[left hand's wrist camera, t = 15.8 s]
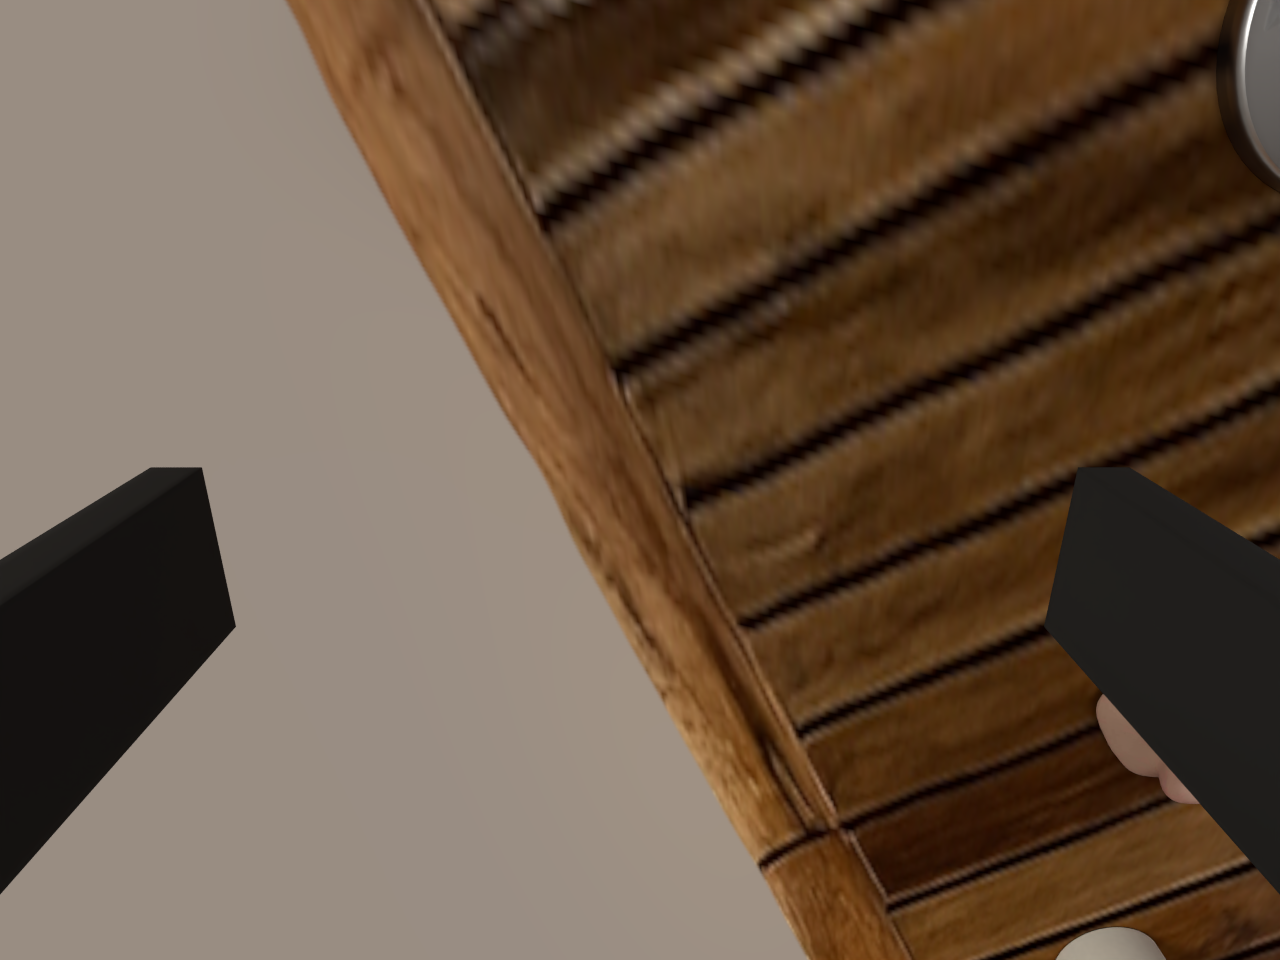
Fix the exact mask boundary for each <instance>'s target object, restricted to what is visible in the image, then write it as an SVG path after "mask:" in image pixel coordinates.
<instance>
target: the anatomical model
mask: <svg viewBox="0 0 1280 960" xmlns="http://www.w3.org/2000/svg"><path fill="white" fill-rule="evenodd" d="M1096 714H1097V719H1098V722H1099V725H1100V728H1101V730H1102V732H1103V734H1104V736H1105V738H1106V740H1107V742H1108V744H1109V746H1110V748H1111V750H1112V751H1113V752H1114V754H1115V755H1116V756H1117V757H1118V759H1119V760H1120V761H1121V763H1122V764H1123V765H1124V766H1125V767H1126V768H1127V769H1129V770H1130V771H1132V772H1134V773H1136V774H1139V775H1143V776H1150V777H1159V779H1160V784H1161V787H1162V789H1163V791H1164V792H1165V794H1166V795H1167V796H1168V797H1169V798H1171V799H1172V800H1174V801H1176V802H1180V803H1188V804H1200V803H1199V802H1198V801H1197V800H1196V799H1195V797H1194V796H1193V795H1192V794H1191V793H1190V792H1189V791H1188V789H1187V788H1186V787H1185V786H1184V785H1183V784H1182V783H1181V782H1180V780H1179V779H1178V778H1177V777H1176V776H1175V775H1174V774H1173V772H1172V771H1171V770H1170V769H1169V768H1168V767H1167V766H1166V764H1165V763H1164V762H1163V761H1162V760H1161V759H1160V758H1159V757H1158V755H1157V754H1156V753H1155V752H1154V751H1153V750H1152V749H1151V747H1150V746H1149V745H1148V744H1147V743H1146V742H1145V741H1144V739H1143V738H1142V737H1141V736H1140V735H1139V734H1138V733H1137V732H1136V730H1135V729H1134V728H1133V727H1132V726H1131V725H1130V724H1129V722H1128V721H1127V720H1126V719H1125V718H1124V717H1123V716H1122V714H1121V713H1120V712H1119V711H1118V710H1117V709H1116V708H1115V707H1114V705H1113V704H1112V703H1111V702H1110V701H1109V700H1108V699H1107V697H1106V696H1105V695H1104V694H1102V696H1101V697H1100V699H1099V701H1098V703H1097V707H1096Z"/></svg>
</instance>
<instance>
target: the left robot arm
mask: <svg viewBox="0 0 1280 960" xmlns="http://www.w3.org/2000/svg"><path fill="white" fill-rule="evenodd" d="M1216 81H1217V95H1218V102H1219V108H1220V112H1221V116H1222V121H1223V124H1224V126H1225V129H1226V132H1227V135H1228V137H1229V139H1230V141H1231V143H1232V145H1233V147H1234V149H1235V151H1236V152H1237V154H1238V155H1239V157H1240V158H1241V160H1242V161H1243V162H1244V163H1245V165H1246V166H1247V167H1248V168H1249V169H1250V170H1251V171H1252V172H1253V173H1254V174H1255V175H1256V176H1257V177H1258V178H1259V179H1260V180H1262V181H1263V182H1264V183H1266V184H1267V185H1269V186H1270V187H1272V188H1273V189H1275V190H1277V191H1279V192H1280V0H1230V1H1229V5H1228V8H1227V11H1226V14H1225V17H1224V21H1223V25H1222V30H1221V34H1220V40H1219V46H1218V53H1217V68H1216ZM235 627H236V625H235V620H234V616H233V611H232V606H231V602H230V597H229V592H228V588H227V583H226V579H225V574H224V569H223V564H222V560H221V555H220V550H219V546H218V541H217V536H216V531H215V527H214V522H213V517H212V513H211V508H210V503H209V499H208V494H207V489H206V485H205V480H204V475H203V471H202V468H149V469H148V470H146V471H144V472H143V473H141V474H139V475H138V476H136V477H134V478H133V479H131V480H130V481H128V482H126V483H125V484H123V485H121V486H120V487H118V488H116V489H115V490H113V491H112V492H110V493H108V494H107V495H105V496H103V497H102V498H100V499H99V500H97V501H95V502H94V503H92V504H90V505H89V506H87V507H86V508H84V509H82V510H81V511H79V512H77V513H76V514H74V515H72V516H71V517H69V518H68V519H66V520H64V521H63V522H61V523H59V524H58V525H56V526H55V527H53V528H51V529H50V530H48V531H46V532H45V533H43V534H42V535H40V536H38V537H37V538H35V539H33V540H32V541H30V542H28V543H27V544H25V545H24V546H22V547H20V548H19V549H17V550H15V551H14V552H12V553H11V554H9V555H7V556H6V557H4V558H3V559H1V560H0V894H1V893H2V892H3V891H4V889H5V888H6V887H7V886H8V885H9V884H10V883H11V881H12V880H13V879H14V878H15V877H16V876H17V875H18V874H19V872H20V871H21V870H22V869H23V868H24V867H25V866H26V864H27V863H28V862H29V861H30V860H31V859H32V858H33V857H34V855H35V854H36V853H37V852H38V851H39V850H40V849H41V847H42V846H43V845H44V844H45V843H46V842H47V841H48V839H49V838H50V837H51V836H52V835H53V834H54V833H55V832H56V830H57V829H58V828H59V827H60V826H61V825H62V824H63V822H64V821H65V820H66V819H67V818H68V817H69V816H70V814H71V813H72V812H73V811H74V810H75V809H76V808H77V807H78V805H79V804H80V803H81V802H82V801H83V800H84V799H85V797H86V796H87V795H88V794H89V793H90V792H91V791H92V789H93V788H94V787H95V786H96V785H97V784H98V783H99V782H100V780H101V779H102V778H103V777H104V776H105V775H106V774H107V772H108V771H109V770H110V769H111V768H112V767H113V766H114V764H115V763H116V762H117V761H118V760H119V759H120V758H121V757H122V755H123V754H124V753H125V752H126V751H127V750H128V749H129V747H130V746H131V745H132V744H133V743H134V742H135V741H136V739H137V738H138V737H139V736H140V735H141V734H142V733H143V732H144V730H145V729H146V728H147V727H148V726H149V725H150V724H151V722H152V721H153V720H154V719H155V718H156V717H157V716H158V714H159V713H160V712H161V711H162V710H163V709H164V708H165V707H166V705H167V704H168V703H169V702H170V701H171V700H172V699H173V697H174V696H175V695H176V694H177V693H178V692H179V691H180V689H181V688H182V687H183V686H184V685H185V684H186V683H187V681H188V680H189V679H190V678H191V677H192V676H193V675H194V674H195V672H196V671H197V670H198V669H199V668H200V667H201V666H202V664H203V663H204V662H205V661H206V660H207V659H208V658H209V656H210V655H211V654H212V653H213V652H214V651H215V650H216V648H217V647H218V646H219V645H220V644H221V643H222V642H223V641H224V639H225V638H226V637H227V636H228V635H229V634H230V633H231V631H232V630H233V629H234V628H235ZM1044 627H1045V628H1046V629H1047V630H1048V632H1049V633H1050V634H1051V635H1052V636H1053V637H1054V638H1055V639H1056V641H1057V642H1058V643H1059V644H1060V645H1061V646H1062V647H1063V649H1064V650H1065V651H1066V652H1067V653H1068V654H1069V655H1070V657H1071V658H1072V659H1073V660H1074V661H1075V662H1076V663H1077V664H1078V666H1079V667H1080V668H1081V669H1082V670H1083V671H1084V672H1085V674H1086V675H1087V676H1088V677H1089V678H1090V679H1091V680H1092V682H1093V683H1094V684H1095V685H1096V686H1097V687H1098V688H1099V689H1100V691H1101V692H1102V693H1103V694H1104V695H1105V696H1106V697H1107V699H1108V700H1109V701H1110V702H1111V703H1112V704H1113V705H1114V707H1115V708H1116V709H1117V710H1118V711H1119V712H1120V713H1121V714H1122V716H1123V717H1124V718H1125V719H1126V720H1127V721H1128V722H1129V724H1130V725H1131V726H1132V727H1133V728H1134V729H1135V730H1136V732H1137V733H1138V734H1139V735H1140V736H1141V737H1142V738H1143V739H1144V741H1145V742H1146V743H1147V744H1148V745H1149V746H1150V747H1151V749H1152V750H1153V751H1154V752H1155V753H1156V754H1157V755H1158V757H1159V758H1160V759H1161V760H1162V761H1163V762H1164V763H1165V764H1166V766H1167V767H1168V768H1169V769H1170V770H1171V771H1172V772H1173V774H1174V775H1175V776H1176V777H1177V778H1178V779H1179V780H1180V782H1181V783H1182V784H1183V785H1184V786H1185V787H1186V788H1187V789H1188V791H1189V792H1190V793H1191V794H1192V795H1193V796H1194V797H1195V799H1196V800H1197V801H1198V802H1199V803H1200V804H1201V805H1202V807H1203V808H1204V809H1205V810H1206V811H1207V812H1208V813H1209V814H1210V816H1211V817H1212V818H1213V819H1214V820H1215V821H1216V822H1217V824H1218V825H1219V826H1220V827H1221V828H1222V829H1223V830H1224V832H1225V833H1226V834H1227V835H1228V836H1229V837H1230V838H1231V839H1232V841H1233V842H1234V843H1235V844H1236V845H1237V846H1238V847H1239V849H1240V850H1241V851H1242V852H1243V853H1244V854H1245V855H1246V857H1247V858H1248V859H1249V860H1250V861H1251V862H1252V863H1253V864H1254V866H1255V867H1256V868H1257V869H1258V870H1259V871H1260V872H1261V874H1262V875H1263V876H1264V877H1265V878H1266V879H1267V880H1268V882H1269V883H1270V884H1271V885H1272V886H1273V887H1274V888H1275V889H1276V891H1277V892H1278V893H1279V894H1280V560H1279V559H1278V558H1276V557H1274V556H1273V555H1271V554H1269V553H1268V552H1266V551H1265V550H1263V549H1261V548H1260V547H1258V546H1256V545H1255V544H1253V543H1252V542H1250V541H1248V540H1247V539H1245V538H1243V537H1242V536H1240V535H1238V534H1237V533H1235V532H1234V531H1232V530H1230V529H1229V528H1227V527H1225V526H1224V525H1222V524H1221V523H1219V522H1217V521H1216V520H1214V519H1212V518H1211V517H1209V516H1208V515H1206V514H1204V513H1203V512H1201V511H1199V510H1198V509H1196V508H1194V507H1193V506H1191V505H1190V504H1188V503H1186V502H1185V501H1183V500H1181V499H1180V498H1178V497H1177V496H1175V495H1173V494H1172V493H1170V492H1168V491H1167V490H1165V489H1164V488H1162V487H1160V486H1159V485H1157V484H1155V483H1154V482H1152V481H1150V480H1149V479H1147V478H1146V477H1144V476H1142V475H1141V474H1139V473H1137V472H1136V471H1134V470H1133V469H1131V468H1078V471H1077V475H1076V480H1075V485H1074V489H1073V494H1072V499H1071V503H1070V508H1069V513H1068V517H1067V522H1066V527H1065V531H1064V536H1063V541H1062V546H1061V550H1060V555H1059V560H1058V564H1057V569H1056V574H1055V578H1054V583H1053V588H1052V592H1051V597H1050V602H1049V606H1048V611H1047V616H1046V620H1045V625H1044Z"/></svg>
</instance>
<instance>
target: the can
mask: <svg viewBox="0 0 1280 960" xmlns="http://www.w3.org/2000/svg"><path fill="white" fill-rule="evenodd" d="M1056 960H1166V959H1165V957H1164V956H1163V954H1162V953H1161V951H1160V950H1159V948H1158V947H1157V945H1156V944H1155V942H1154V941H1153V940H1152V939H1151V938H1150V937H1149V936H1147V935H1146V934H1144V933H1142V932H1140V931H1137V930H1134V929H1130V928H1124V927H1110V928H1103V929H1098V930H1095V931H1091V932H1089V933H1086V934H1084V935H1082V936H1080V937H1078V938H1076V939H1075V940H1073V941H1072V942H1070V943H1069V944H1068V945H1067V946H1066V947H1065V948H1064V949H1063V950H1062V951H1061V952H1060V954H1059V955H1058V957H1057V959H1056Z"/></svg>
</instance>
